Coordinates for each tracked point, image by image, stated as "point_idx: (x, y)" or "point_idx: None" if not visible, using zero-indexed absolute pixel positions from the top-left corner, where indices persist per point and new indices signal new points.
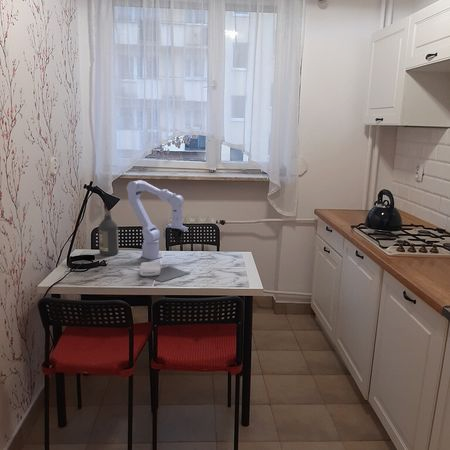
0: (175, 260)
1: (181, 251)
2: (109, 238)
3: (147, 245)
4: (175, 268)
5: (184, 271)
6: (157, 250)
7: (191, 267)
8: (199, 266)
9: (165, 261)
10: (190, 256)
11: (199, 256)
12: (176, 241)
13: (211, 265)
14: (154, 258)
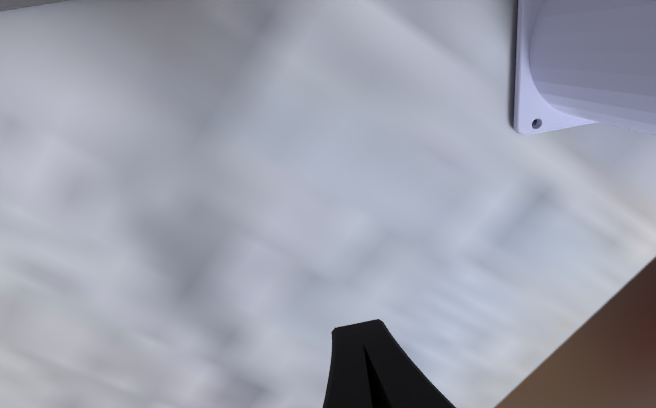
0: (336, 190)
1: (528, 357)
2: None
3: None
4: (6, 4)
5: None
6: (592, 74)
7: (18, 201)
8: (23, 280)
9: (370, 81)
10: None
11: (315, 404)
12: (336, 340)
13: (14, 373)
14: (522, 10)
